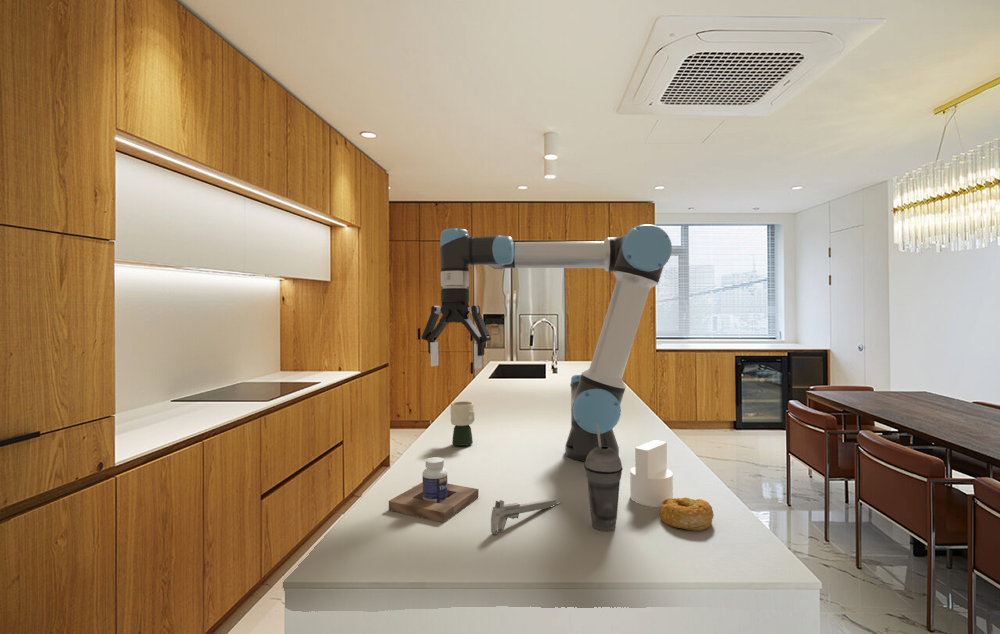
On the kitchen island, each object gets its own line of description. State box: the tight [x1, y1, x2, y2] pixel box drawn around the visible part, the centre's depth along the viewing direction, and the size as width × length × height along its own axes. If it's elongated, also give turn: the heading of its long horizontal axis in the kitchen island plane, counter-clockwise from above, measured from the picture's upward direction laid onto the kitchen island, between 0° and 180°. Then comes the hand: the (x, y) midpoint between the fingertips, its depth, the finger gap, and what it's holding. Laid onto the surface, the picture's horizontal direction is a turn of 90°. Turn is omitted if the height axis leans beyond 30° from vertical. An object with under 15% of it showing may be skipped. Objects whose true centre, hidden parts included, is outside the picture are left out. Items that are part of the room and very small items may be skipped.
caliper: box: [490, 498, 560, 536], centre depth 101 cm, size 20×1×6 cm, turn 137°
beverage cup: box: [584, 423, 624, 532], centre depth 97 cm, size 7×7×20 cm
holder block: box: [388, 481, 479, 523], centre depth 109 cm, size 14×14×2 cm
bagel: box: [659, 497, 715, 532], centre depth 99 cm, size 10×11×5 cm
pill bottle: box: [422, 456, 448, 503], centre depth 108 cm, size 5×5×10 cm
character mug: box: [450, 400, 475, 447], centre depth 154 cm, size 11×7×13 cm, turn 44°
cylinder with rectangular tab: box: [629, 439, 674, 508], centre depth 110 cm, size 9×9×12 cm
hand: (455, 367), depth 133 cm, fingers open, 13 cm apart
